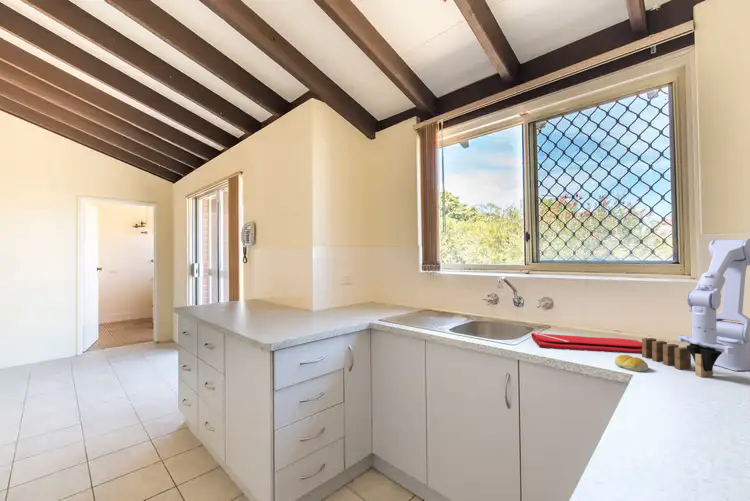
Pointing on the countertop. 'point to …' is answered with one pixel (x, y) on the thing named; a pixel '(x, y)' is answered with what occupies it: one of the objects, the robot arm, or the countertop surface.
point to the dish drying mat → (587, 343)
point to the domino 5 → (701, 367)
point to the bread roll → (631, 363)
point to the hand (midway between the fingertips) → (704, 369)
